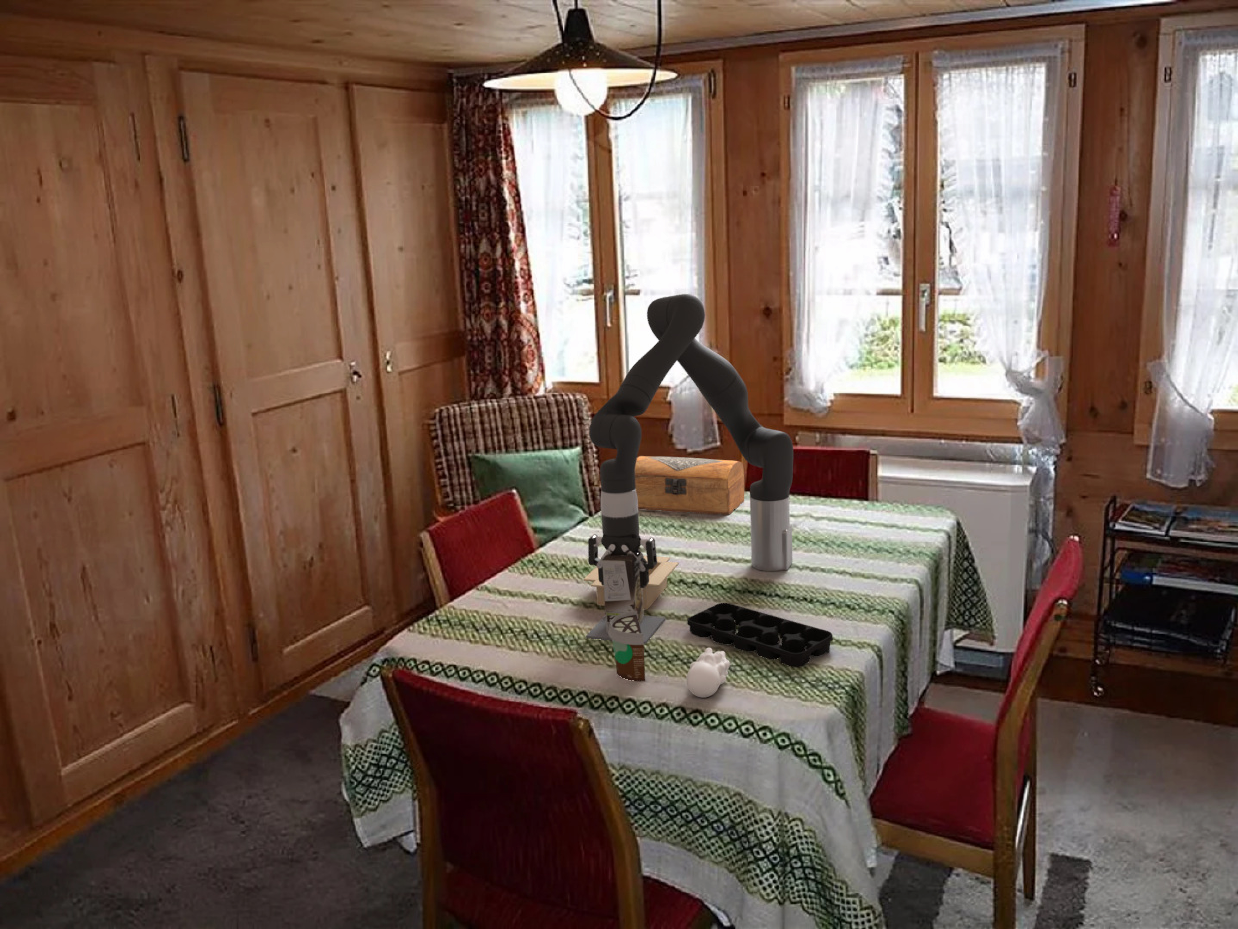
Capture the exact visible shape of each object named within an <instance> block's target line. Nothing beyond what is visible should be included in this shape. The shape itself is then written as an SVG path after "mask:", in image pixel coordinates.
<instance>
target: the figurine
mask: <svg viewBox="0 0 1238 929" xmlns="http://www.w3.org/2000/svg"><path fill="white" fill-rule="evenodd" d="M730 667H731V662H730V661H729V659H727V658H726V652H725V651H724V650H721V651H718V650H717V651H715V652H714V653H713V649H712V648H711V647H707V648H705V649H704V652H701V654H700V655H699V657H698V658H696V661H692V662H691V664H690V666H689V670H688V672H687V674H686V678H685V679H686V680H685V682H686V686H687V688H688V690H689V691H690V692H691V693H692V694H693V695H694V696H695V697H698V698H703V699H704V698H707V697H710V696H712V695H714V694H715V693H716V692H717V691H718V689H719V687H720V685H722V684H724V683H725V682H726V680H727V676H728V675H729V671H728V670H729V669H730Z"/></svg>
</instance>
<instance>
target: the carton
mask: <svg viewBox="0 0 1238 929" xmlns="http://www.w3.org/2000/svg"><path fill="white" fill-rule="evenodd" d="M643 556H644V558H645V559H646V561H647V555H643ZM670 559H671V557H669V556H657V565H656V566H655V567H654V568H653V569H649V583H648V584H647V585H646V587H645V588H642V595H643V610H646V611H647V610H648V609H649V608H650V607H651V606H652V605H653V604H654V602H655V601H657V599H658V598H659V597H660V595H661V594H662V593H663V592H664V591H665V590H666V589H667V587H668V577H669V576H670V575H671V574H672V573H673V571H674V570H676V568H677V567H678V566H679V562H676V561H675V562H674V561H670ZM598 576H599V575H598V568H597V566H595V568H593V569H592V570H591V571H590V572H589V573H588V574H587V575H586V576H585V577H584V578H583V581H584V582H592V583H591V584H590V587H592V588H596V599H597V604H596V605H597V606H598V605H600V607H605V599H604V585H601V582H599V577H598ZM664 589H665V590H664ZM601 605H602V606H601Z"/></svg>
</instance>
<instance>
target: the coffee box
mask: <svg viewBox="0 0 1238 929" xmlns="http://www.w3.org/2000/svg"><path fill="white" fill-rule="evenodd" d="M639 550H640V551H641V546H640V547H639ZM635 555H636V556H637V553H635ZM602 564H603V582H604V599H605V606H604V611H605V612H604V613H605V615H606V632H607V633H608V630H609V625H610V623H611V620H612V619H613V618H614V617H616V616H617V615H620V614H622V613H626V612H630V611H637V618H638V622H639V625H640V624H641V622H642V621H643V619H644V616H645V613H644V609H643V595H642V588H640V575H639V571H640V569H639V568H638V566H637V565H636V564H635V563H634V557H628V555H610V556H605V557H604V558H603V560H602ZM605 615H604V616H605Z"/></svg>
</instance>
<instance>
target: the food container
mask: <svg viewBox="0 0 1238 929" xmlns="http://www.w3.org/2000/svg"><path fill="white" fill-rule="evenodd" d="M608 635H609V637H610V638H611V639H612V641H611V642H612V648H613V655H614V663H615V670H616V675H617V674H618V675H619V676H621V677H622V678H621V677H620V678H621V679H623V678H625V679H628V680H627V681H629V680H631V682H646V668H645V667H646V666H645V665H646V664H645V644H644V637H643V633H641V629H640V625H639V622H638V618H637V611H630V612H626V613H622V614H620V615H617V616H616V617H614V618H613V619H612V620H611V623H610V625H609V630H608ZM618 675H617V676H618ZM619 676H618V677H619ZM625 679H624V680H625ZM632 680H634V681H632Z"/></svg>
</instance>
